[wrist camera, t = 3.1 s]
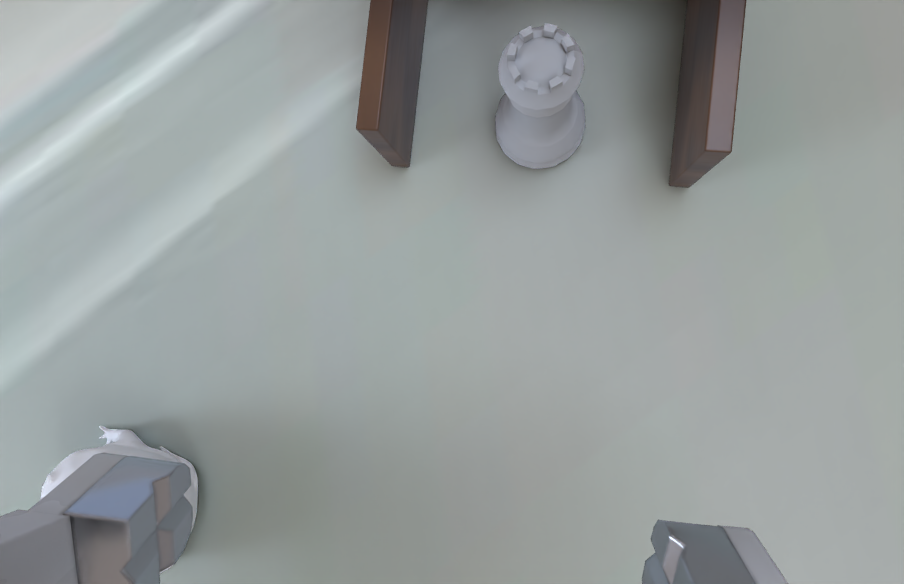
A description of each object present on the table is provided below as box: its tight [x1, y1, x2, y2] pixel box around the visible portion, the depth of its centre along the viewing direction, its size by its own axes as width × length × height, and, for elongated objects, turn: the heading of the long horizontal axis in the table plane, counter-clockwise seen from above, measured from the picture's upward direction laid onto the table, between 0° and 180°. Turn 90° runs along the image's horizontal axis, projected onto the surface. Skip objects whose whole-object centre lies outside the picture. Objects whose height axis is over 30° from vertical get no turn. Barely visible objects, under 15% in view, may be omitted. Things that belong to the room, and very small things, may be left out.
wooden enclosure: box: [356, 0, 746, 187], centre depth 26 cm, size 11×15×6 cm
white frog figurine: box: [40, 426, 198, 573], centre depth 29 cm, size 8×7×4 cm
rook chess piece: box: [495, 23, 585, 169], centre depth 25 cm, size 4×4×8 cm
